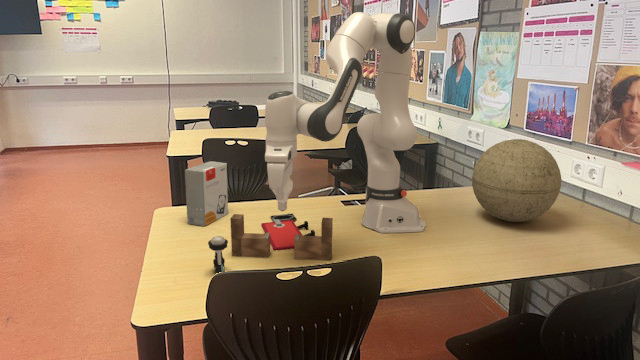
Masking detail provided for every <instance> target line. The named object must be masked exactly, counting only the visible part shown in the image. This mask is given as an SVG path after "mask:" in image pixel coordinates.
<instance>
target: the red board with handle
mask: <svg viewBox="0 0 640 360" xmlns="http://www.w3.org/2000/svg"><path fill="white" fill-rule="evenodd" d="M270 218H271V220H272V221H269V222H261V227H262V230H263V232H264V234H266V233H270V247H271V248H272V250H273V252H274V251H275V252H276V250H277V251H284V250H294V239H295V236H296V234H300V235H303V236H316V232H315V230H314V229H311V230H310V233H309V232H308V233H306V234H303V233H302V232H301V231H300V230H301V229H304V230H305V231H308V230H309V222H308V221H307V220H305V221H303V224H299V225H296V223H295V222H294V221H295V220H296V221H297V218H296V216H295V214H294V213H287V214H286V213H283V214H275V215H270Z"/></svg>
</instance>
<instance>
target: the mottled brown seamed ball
mask: <svg viewBox="0 0 640 360" xmlns="http://www.w3.org/2000/svg"><path fill="white" fill-rule="evenodd" d="M471 181H472V182H471V184H472V185H471V186H472V190H473V193H474V195H475V198H476V200H477V202H478V204H480V206H481V207H482V209H484V210H485V211H486V212H487V213H488V214H490V215H491V216H493V217H494V218H497V219H498V220H502V221H505V222H511V223H522V222H526V221H527V222H528V221H531V220H535V219H537V218H538V217H541V216H542V215H544V214H545V213H546V212H547V211H549V210H550V208H552V206H554V204H555V202H556V201H557V198H558V196H559V195H560V191H561V187H562V174H561V170H560V167H559V164H558V162H557V160H556V159H555V157H554V156H553V155H552V153H550V152H549V150H547V149H546V148H545V147H544V146H541V145H540V144H538V143H536V142H534V141H531V140H529V139H528V140H527V139H521V138H520V139H519V138H514V139H507V140H503V141H500V142H498V143H495V144H494V145H492V146H490V147H489V148H487V149H486V150H485V151H484V152H482V154H481V155H480V156H479V158H478V159H477V160H476V163H475V165H474V168H473V171H472V177H471Z"/></svg>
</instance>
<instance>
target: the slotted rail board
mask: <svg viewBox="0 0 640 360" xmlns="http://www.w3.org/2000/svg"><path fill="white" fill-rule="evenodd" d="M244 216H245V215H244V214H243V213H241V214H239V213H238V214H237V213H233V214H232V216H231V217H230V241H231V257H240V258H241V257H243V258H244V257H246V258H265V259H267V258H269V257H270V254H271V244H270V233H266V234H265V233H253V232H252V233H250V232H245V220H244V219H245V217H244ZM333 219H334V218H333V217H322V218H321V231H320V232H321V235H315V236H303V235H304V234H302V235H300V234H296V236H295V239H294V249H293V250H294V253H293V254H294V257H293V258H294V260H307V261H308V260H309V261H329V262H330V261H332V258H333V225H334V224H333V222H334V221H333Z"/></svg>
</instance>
